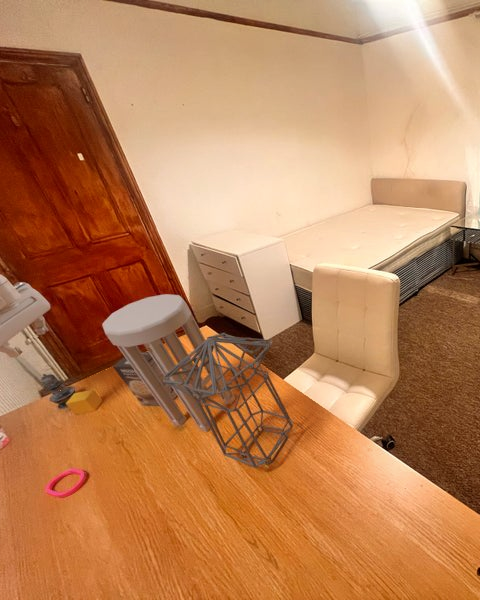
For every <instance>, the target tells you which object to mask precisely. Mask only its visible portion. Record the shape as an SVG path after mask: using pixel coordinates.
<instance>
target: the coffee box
mask: <svg viewBox="0 0 480 600" xmlns="http://www.w3.org/2000/svg"><path fill="white" fill-rule="evenodd" d="M141 353H142V354H143V355H144V357H145V358H146V360H147V361H148V363H149V364H150V366H151V367H152V369H153V370H154V372H155V373H156V375H157V376H158V378H159V379H160V381H161V382H162V383H163V380H164V375H163V373H162V372H161V370H160V369H159V367H158V365H157V364H156V362H155V361H154V359H153V358H152V356H151V355H150V353H149V352H148V351H141ZM112 368H113V369H114V371H115V372H116V373H117V374H118V376H119V377H120V379H122V381H123V382H124V384H125V385H126V387H127V389H128V390H129V391H130V392H131V394H133V396H134V397H135V399H136V400H137V401H138V402H139V404H140V405H141V406H149V407H150V406H151V407H152V406H153V407H161V406H160V405H159V403H158V402H157V401H156V399H155V398H154V396H153V395H152V394H151V392H150V391H149V389H148V388H147V387H146V385H145V384H144V383H143V381H142V380H141V378H140V377H139V376H138V374H137V373H136V371H135V370H134V369H133V367H132V366H131V365H130V363H129V362H128V360H127V359H126V358H125V356H123V357H122V358H120V359H119V360H118V361H117V362H116V363H115V364H113V366H112ZM163 385H164V386H165V385H166V384H165V383H163ZM173 391H174V390H173V388H171V389H169V390H168V392H169V394H170V393H172V392H173ZM175 398H177V396H176V397H175ZM175 398H174V399H173V400H174V401H175Z"/></svg>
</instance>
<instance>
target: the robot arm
mask: <svg viewBox="0 0 480 600" xmlns="http://www.w3.org/2000/svg"><path fill="white" fill-rule="evenodd" d="M50 310H51V303H50V302H49V301H48V300H47V299H46V298H45V297H44V295H42V294H41V293H40V292H39V291H38V290H36V289H35V288H33V287H32V286H31V285H30V284H29V283H26V282H21V281H17V282H15V283H14V284H12V283H11V282H10V281H9V279H8V278H7V277H6V276H4V275H3V274H1V273H0V353H3V354H6V355H7V356H8V357H9V358H12V359H13V358H17V357H19V356H20V355H21V354H23V351H22V350H21V348H20V347H18V346H17V347H11V344H10V343H9V341H10V340H12V339H13V338H14V337H15V336H17V335H18V334H19V333H21V332H22V331H23V330H24V329H26V328H27V327H28V326H30V325H31V324H33V325H34V327H35V328H34V329H33V331H34V332H35V333H36V335H39V336H42V335H45V334H47V333H48V332H49V331H50V329H49V328H48V326H47V325H46V318H45V317H44V315H45V314H46V313H47V312H48V311H50Z"/></svg>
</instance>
